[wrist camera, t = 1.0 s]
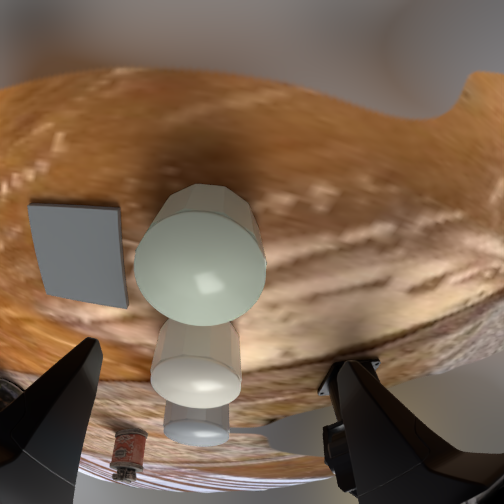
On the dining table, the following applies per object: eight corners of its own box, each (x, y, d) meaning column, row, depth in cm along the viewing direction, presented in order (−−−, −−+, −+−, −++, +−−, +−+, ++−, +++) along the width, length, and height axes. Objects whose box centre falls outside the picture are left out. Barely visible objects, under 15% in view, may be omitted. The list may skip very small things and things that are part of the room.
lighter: (136, 427, 35) (129, 479, 26) (152, 434, 36) (146, 485, 27) (111, 431, 36) (103, 477, 28) (126, 439, 38) (119, 483, 29)
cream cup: (233, 366, 27) (235, 410, 22) (163, 359, 26) (155, 403, 21) (243, 315, 24) (246, 364, 19) (158, 306, 23) (145, 354, 18)
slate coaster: (128, 304, 22) (127, 308, 22) (49, 290, 21) (46, 294, 21) (120, 207, 18) (117, 210, 18) (31, 203, 17) (27, 205, 16)
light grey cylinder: (225, 412, 32) (226, 447, 27) (170, 408, 31) (166, 442, 26) (230, 384, 29) (232, 425, 24) (166, 378, 28) (159, 419, 23)
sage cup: (248, 281, 22) (254, 330, 17) (156, 272, 21) (139, 318, 16) (264, 191, 18) (277, 221, 14) (157, 180, 17) (130, 207, 13)
